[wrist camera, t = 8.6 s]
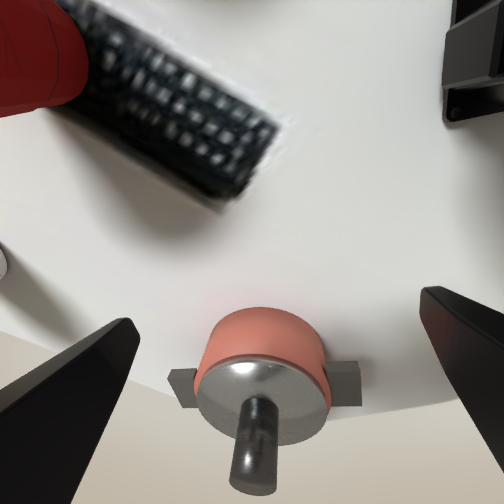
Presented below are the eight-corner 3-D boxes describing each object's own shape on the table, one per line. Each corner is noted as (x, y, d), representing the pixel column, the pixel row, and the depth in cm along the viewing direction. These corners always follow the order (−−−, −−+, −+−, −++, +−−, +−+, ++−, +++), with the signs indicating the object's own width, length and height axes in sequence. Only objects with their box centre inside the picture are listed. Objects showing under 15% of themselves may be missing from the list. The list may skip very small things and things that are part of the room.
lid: (318, 349, 19) (330, 439, 14) (330, 434, 24) (343, 526, 18) (183, 357, 21) (148, 436, 16) (218, 433, 26) (200, 514, 21)
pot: (346, 298, 22) (360, 342, 18) (352, 388, 28) (365, 438, 23) (172, 315, 26) (148, 354, 22) (206, 391, 31) (192, 436, 27)
